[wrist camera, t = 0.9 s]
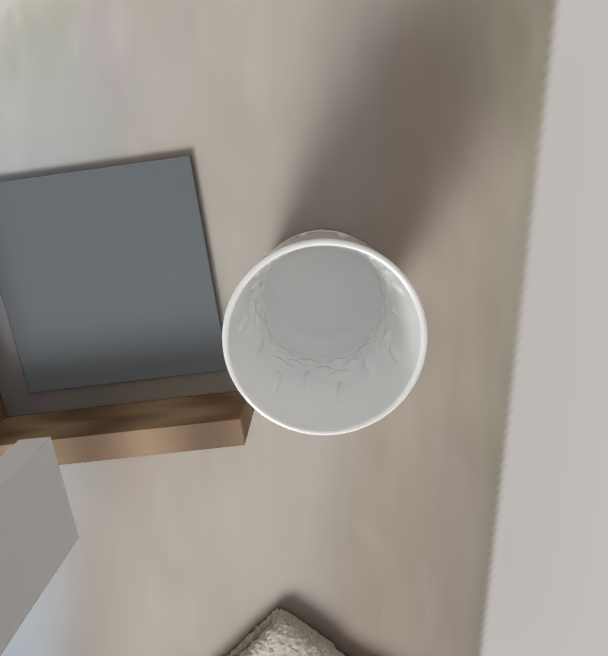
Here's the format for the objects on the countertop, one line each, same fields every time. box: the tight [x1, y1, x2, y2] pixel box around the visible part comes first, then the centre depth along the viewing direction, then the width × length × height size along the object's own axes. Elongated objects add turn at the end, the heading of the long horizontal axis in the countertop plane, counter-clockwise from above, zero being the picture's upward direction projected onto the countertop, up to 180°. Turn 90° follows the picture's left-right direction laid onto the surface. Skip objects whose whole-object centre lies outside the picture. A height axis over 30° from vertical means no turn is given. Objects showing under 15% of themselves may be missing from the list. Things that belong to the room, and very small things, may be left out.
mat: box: [0, 156, 228, 393], centre depth 30 cm, size 12×12×1 cm
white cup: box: [222, 229, 428, 435], centre depth 25 cm, size 8×8×10 cm
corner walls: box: [0, 391, 253, 465], centre depth 29 cm, size 16×14×4 cm
